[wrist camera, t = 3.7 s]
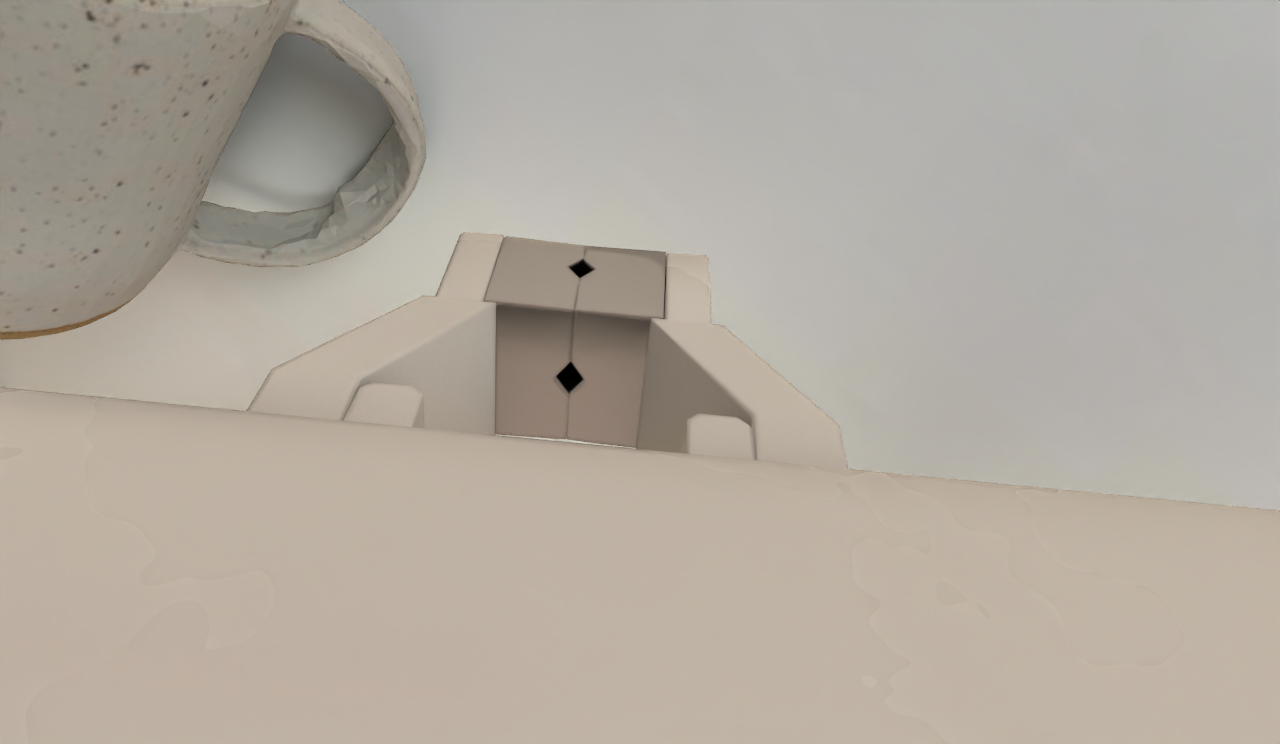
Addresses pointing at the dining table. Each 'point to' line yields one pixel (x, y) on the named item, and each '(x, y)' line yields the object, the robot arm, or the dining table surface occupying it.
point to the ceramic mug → (163, 147)
